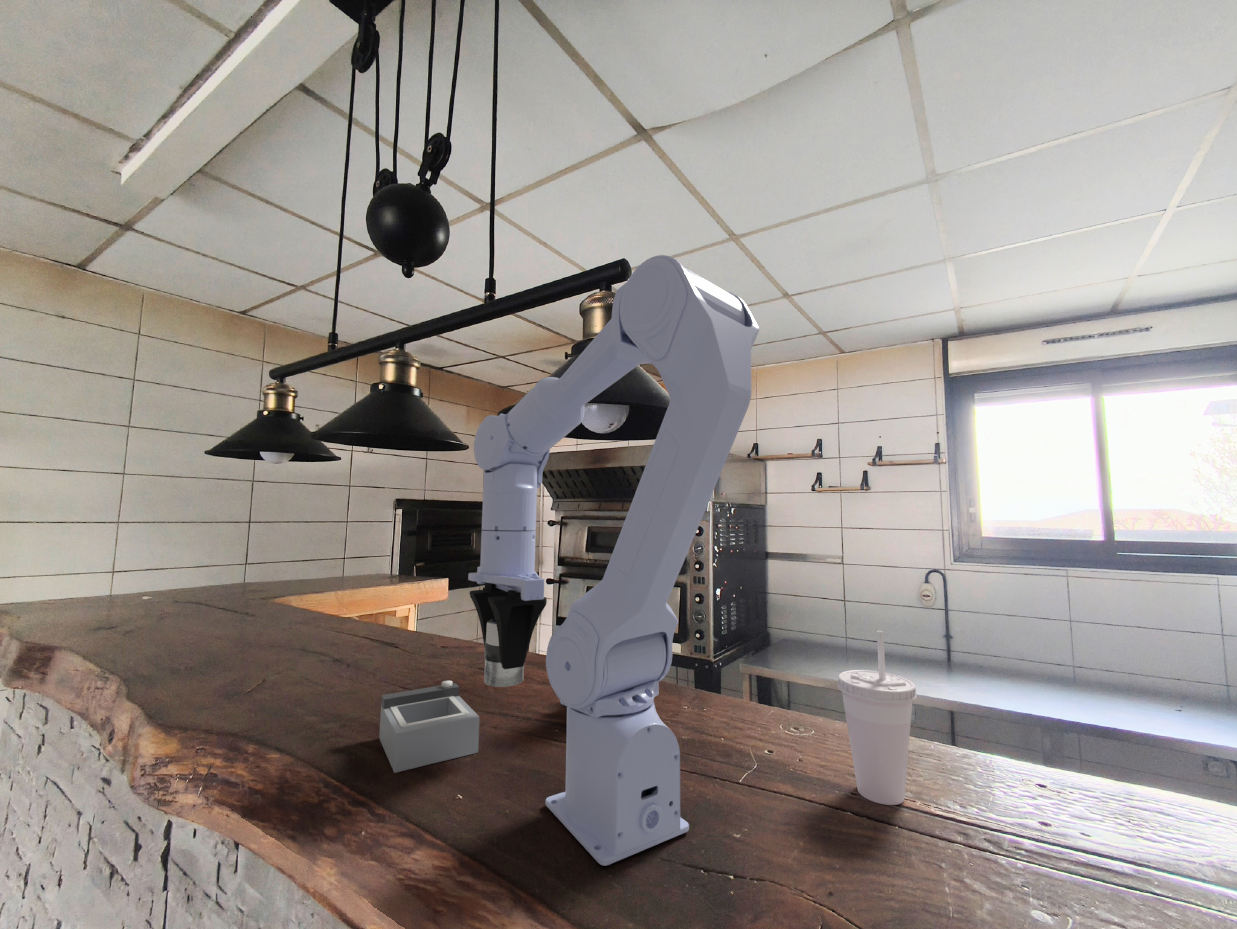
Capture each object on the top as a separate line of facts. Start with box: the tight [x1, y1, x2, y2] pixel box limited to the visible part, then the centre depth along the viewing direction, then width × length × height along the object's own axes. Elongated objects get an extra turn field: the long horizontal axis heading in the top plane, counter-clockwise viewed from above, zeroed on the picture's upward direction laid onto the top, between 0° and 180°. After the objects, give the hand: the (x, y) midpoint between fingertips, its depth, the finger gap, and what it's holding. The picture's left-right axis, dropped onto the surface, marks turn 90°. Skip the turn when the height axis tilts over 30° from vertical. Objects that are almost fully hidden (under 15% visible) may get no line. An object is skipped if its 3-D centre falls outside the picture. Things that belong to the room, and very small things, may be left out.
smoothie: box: [837, 630, 918, 806], centre depth 46 cm, size 6×6×14 cm
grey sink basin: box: [378, 680, 480, 774], centre depth 54 cm, size 9×8×5 cm
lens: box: [483, 619, 525, 688], centre depth 54 cm, size 4×4×6 cm
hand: (504, 661), depth 54 cm, fingers closed on lens, 4 cm apart
